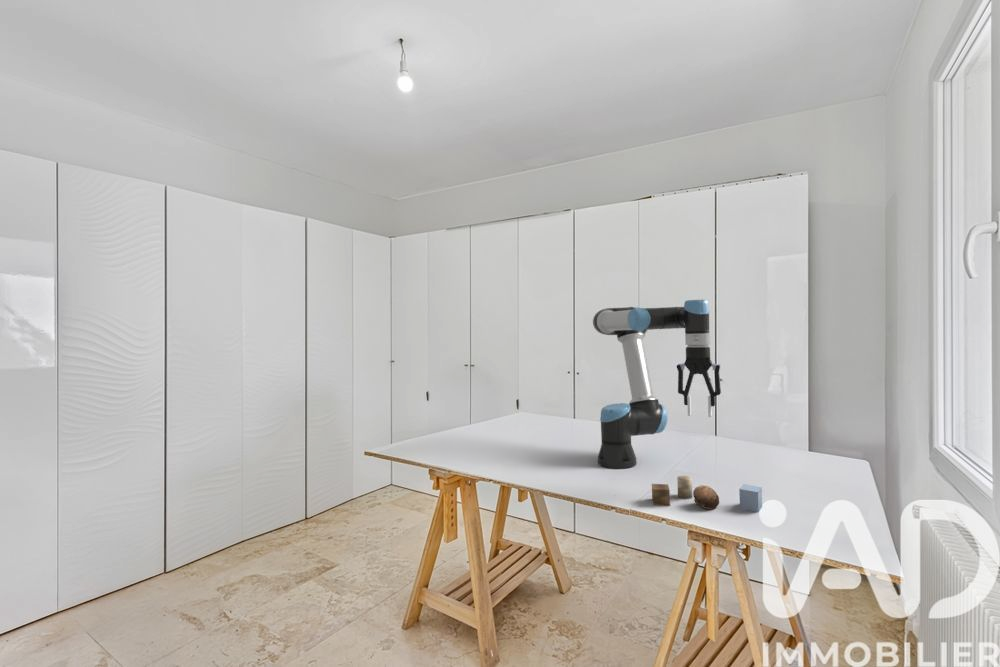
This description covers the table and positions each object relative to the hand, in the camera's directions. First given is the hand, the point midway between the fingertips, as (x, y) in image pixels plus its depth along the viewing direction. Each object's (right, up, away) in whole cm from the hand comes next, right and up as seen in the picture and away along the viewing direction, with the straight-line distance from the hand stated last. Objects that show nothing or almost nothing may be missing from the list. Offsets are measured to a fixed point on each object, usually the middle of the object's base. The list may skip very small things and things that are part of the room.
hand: (699, 415), depth 162 cm
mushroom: (-4, -26, -14) cm, 29 cm away
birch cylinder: (-7, -25, -5) cm, 27 cm away
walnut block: (-16, -26, -9) cm, 32 cm away
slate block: (+9, -25, -16) cm, 31 cm away
